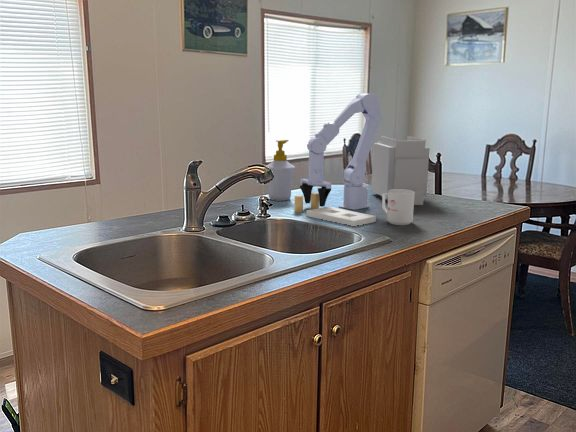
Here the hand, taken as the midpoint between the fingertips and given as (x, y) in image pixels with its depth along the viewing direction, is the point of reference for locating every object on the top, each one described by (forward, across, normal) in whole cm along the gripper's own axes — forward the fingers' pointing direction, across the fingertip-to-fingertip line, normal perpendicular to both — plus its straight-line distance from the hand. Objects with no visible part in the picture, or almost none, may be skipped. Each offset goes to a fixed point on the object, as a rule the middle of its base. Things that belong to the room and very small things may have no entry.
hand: (314, 204), depth 213 cm
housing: (+2, +18, -6) cm, 19 cm away
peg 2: (+2, 0, 0) cm, 2 cm away
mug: (+2, +34, +5) cm, 34 cm away
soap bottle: (+2, -23, +3) cm, 23 cm away
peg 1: (+2, 0, -9) cm, 9 cm away
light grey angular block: (+2, +8, +44) cm, 45 cm away
